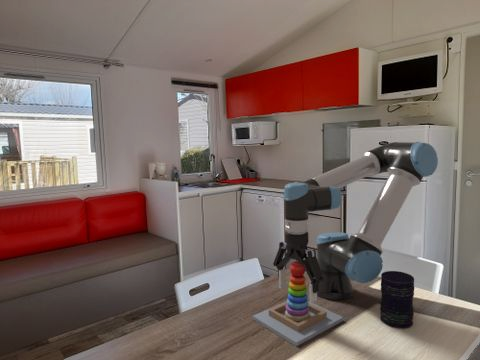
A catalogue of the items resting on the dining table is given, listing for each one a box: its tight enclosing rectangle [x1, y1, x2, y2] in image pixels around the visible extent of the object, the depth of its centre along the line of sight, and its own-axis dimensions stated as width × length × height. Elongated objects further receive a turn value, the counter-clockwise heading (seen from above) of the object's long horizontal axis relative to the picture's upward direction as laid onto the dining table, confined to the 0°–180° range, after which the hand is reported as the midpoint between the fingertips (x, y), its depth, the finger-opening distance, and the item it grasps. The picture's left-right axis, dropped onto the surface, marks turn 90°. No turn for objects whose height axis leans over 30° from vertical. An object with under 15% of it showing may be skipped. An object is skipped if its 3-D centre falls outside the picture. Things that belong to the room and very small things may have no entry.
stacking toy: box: [285, 260, 310, 322], centre depth 114 cm, size 8×8×19 cm
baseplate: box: [252, 300, 344, 347], centre depth 115 cm, size 22×20×3 cm
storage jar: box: [379, 270, 415, 330], centre depth 112 cm, size 10×10×15 cm
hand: (297, 294), depth 114 cm, fingers open, 13 cm apart
